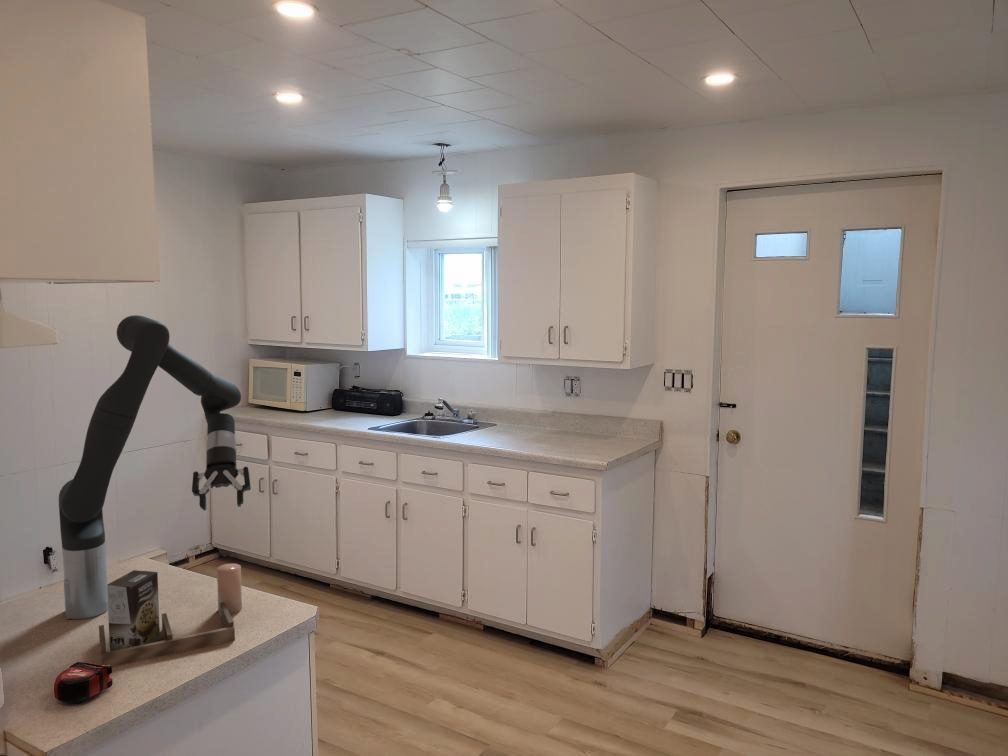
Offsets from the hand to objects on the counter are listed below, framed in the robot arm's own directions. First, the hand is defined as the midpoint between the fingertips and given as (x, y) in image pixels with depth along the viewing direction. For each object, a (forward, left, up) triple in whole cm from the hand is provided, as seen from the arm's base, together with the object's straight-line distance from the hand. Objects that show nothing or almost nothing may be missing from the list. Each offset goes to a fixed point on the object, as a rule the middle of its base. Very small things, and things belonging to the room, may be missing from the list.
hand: (221, 507), depth 193 cm
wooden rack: (-16, -21, -24) cm, 35 cm away
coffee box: (-22, -20, -24) cm, 38 cm away
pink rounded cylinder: (0, -10, -24) cm, 26 cm away
